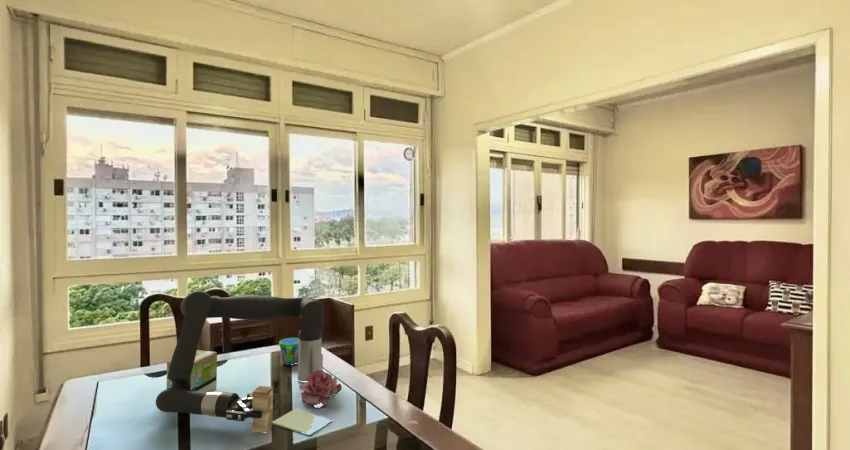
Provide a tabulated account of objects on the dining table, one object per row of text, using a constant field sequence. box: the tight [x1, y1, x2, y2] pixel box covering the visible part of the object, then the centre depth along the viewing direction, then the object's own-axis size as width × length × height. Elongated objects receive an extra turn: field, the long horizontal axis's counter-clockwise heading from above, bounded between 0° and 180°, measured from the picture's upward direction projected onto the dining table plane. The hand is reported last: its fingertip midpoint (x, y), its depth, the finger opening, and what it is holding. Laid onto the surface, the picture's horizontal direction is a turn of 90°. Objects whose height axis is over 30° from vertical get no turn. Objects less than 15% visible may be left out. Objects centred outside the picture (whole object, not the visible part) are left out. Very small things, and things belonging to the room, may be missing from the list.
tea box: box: [166, 349, 218, 392], centre depth 169 cm, size 15×10×15 cm, turn 168°
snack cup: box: [278, 337, 298, 366], centre depth 204 cm, size 16×10×10 cm
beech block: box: [252, 385, 274, 433], centre depth 146 cm, size 5×5×13 cm
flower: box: [298, 370, 343, 406], centre depth 168 cm, size 15×15×10 cm
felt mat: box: [272, 408, 314, 433], centre depth 151 cm, size 11×16×1 cm
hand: (268, 408), depth 146 cm, fingers open, 8 cm apart
